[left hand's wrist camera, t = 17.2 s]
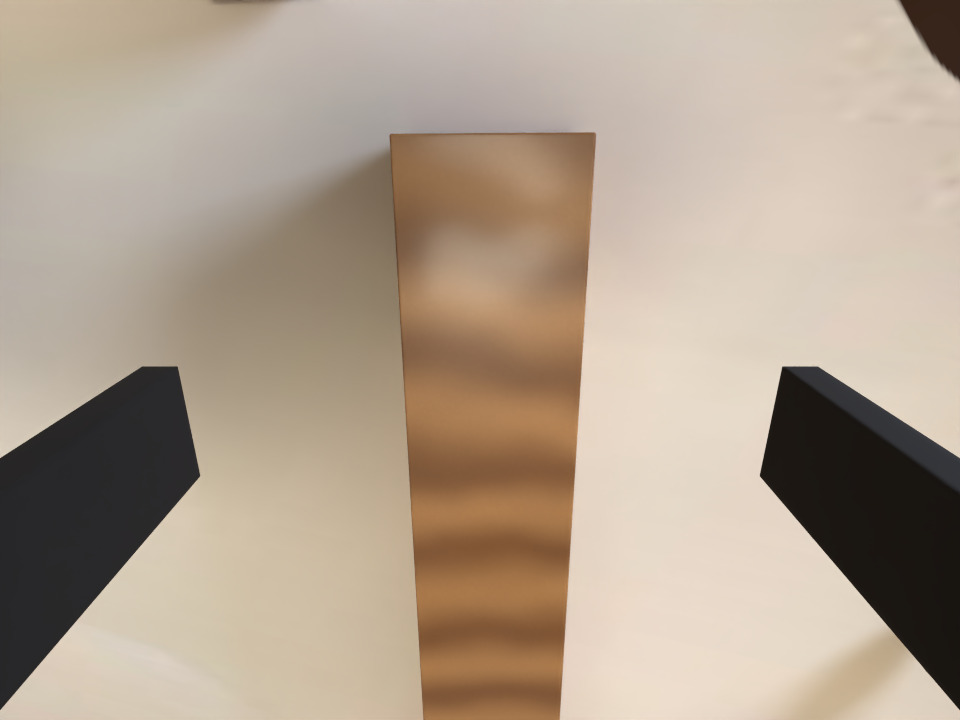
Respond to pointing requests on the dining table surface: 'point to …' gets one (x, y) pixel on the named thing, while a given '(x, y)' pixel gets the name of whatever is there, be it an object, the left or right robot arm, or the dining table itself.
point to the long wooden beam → (492, 406)
